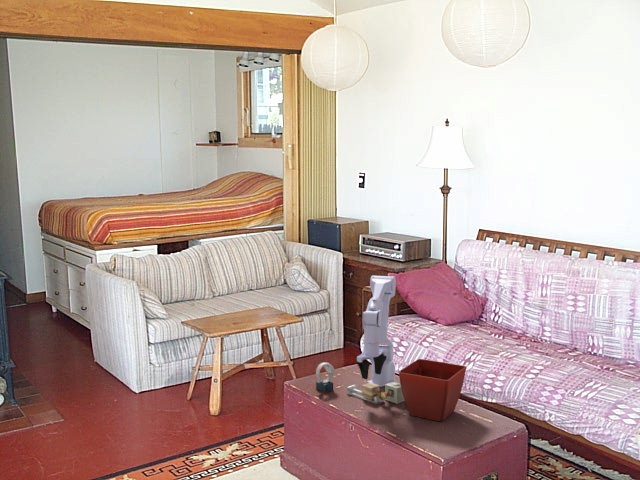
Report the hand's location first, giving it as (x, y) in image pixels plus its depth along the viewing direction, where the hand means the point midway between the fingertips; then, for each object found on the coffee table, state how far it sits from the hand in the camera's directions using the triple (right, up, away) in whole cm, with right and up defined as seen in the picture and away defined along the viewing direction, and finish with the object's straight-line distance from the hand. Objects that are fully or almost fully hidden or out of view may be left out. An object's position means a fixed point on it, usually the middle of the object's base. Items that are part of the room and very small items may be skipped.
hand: (371, 376), depth 280 cm
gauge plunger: (+6, -8, -2) cm, 10 cm away
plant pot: (+21, -11, -12) cm, 27 cm away
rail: (-2, -9, +4) cm, 10 cm away
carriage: (0, -8, +1) cm, 8 cm away
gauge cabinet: (+10, -9, +1) cm, 13 cm away
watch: (-18, -8, +13) cm, 23 cm away
